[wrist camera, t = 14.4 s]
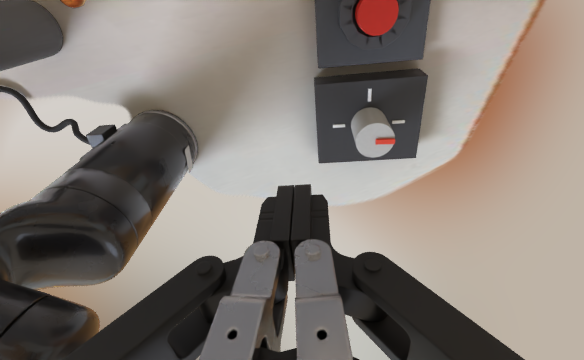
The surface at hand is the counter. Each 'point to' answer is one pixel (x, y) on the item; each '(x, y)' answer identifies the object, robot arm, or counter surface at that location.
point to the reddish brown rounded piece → (73, 3)
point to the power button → (376, 15)
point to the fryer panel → (363, 94)
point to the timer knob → (372, 132)
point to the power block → (366, 48)
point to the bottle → (26, 33)
